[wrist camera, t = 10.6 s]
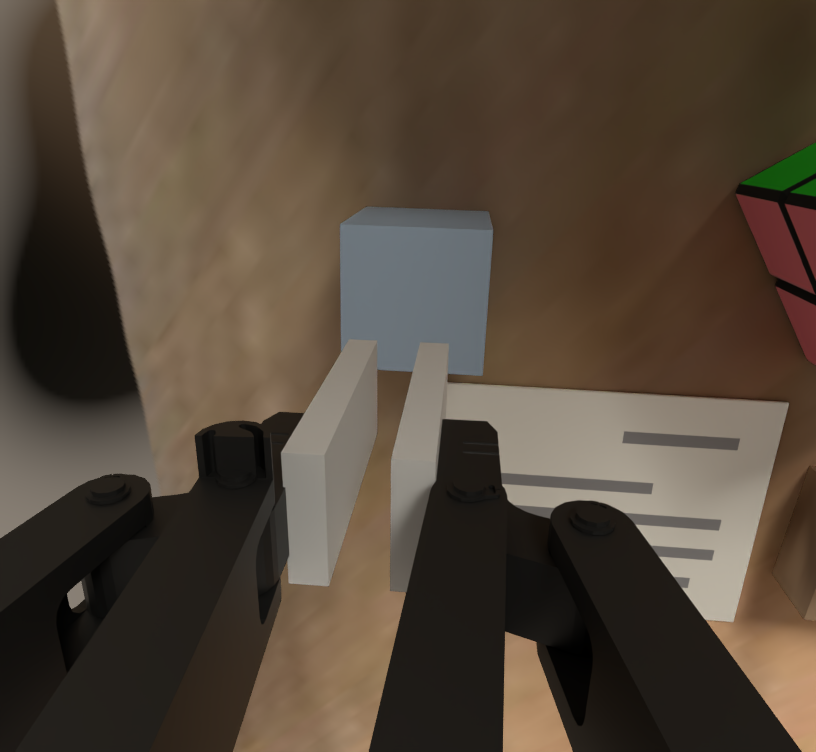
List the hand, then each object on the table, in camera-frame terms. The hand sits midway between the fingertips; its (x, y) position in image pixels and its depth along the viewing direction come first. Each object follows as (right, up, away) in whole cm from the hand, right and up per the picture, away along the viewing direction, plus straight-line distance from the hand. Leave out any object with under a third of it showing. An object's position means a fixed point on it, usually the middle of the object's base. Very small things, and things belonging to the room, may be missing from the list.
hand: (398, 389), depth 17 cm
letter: (+11, -7, +19) cm, 23 cm away
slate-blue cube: (+1, +6, +15) cm, 16 cm away
